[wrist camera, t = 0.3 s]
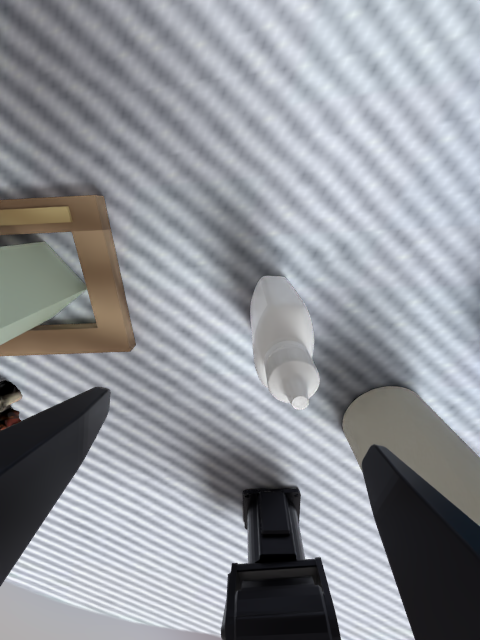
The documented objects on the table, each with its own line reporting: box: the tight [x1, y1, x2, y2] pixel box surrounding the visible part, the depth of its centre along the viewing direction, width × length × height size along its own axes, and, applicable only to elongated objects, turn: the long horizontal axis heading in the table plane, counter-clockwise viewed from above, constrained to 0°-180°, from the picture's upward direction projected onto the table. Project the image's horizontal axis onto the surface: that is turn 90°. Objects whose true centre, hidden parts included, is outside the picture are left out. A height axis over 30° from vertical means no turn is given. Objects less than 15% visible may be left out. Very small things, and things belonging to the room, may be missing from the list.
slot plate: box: [0, 195, 136, 356], centre depth 20 cm, size 12×12×1 cm
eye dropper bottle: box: [250, 276, 320, 410], centre depth 16 cm, size 4×6×12 cm
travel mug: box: [342, 386, 480, 526], centre depth 17 cm, size 8×8×18 cm
